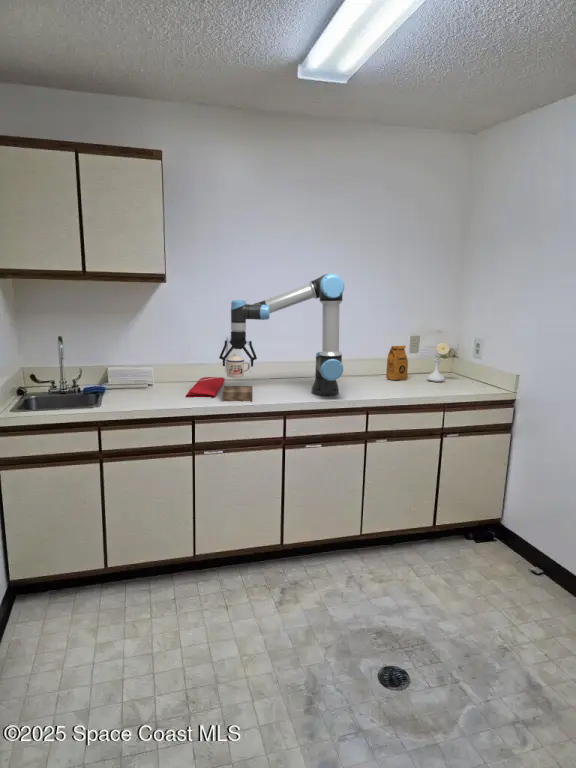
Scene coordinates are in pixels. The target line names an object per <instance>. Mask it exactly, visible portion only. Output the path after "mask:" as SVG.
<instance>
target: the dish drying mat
mask: <svg viewBox="0 0 576 768" xmlns="http://www.w3.org/2000/svg"><path fill="white" fill-rule="evenodd" d="M225 380H226V379H225V377H218V376H205V377H201V378H199V379H198V381H197V382H196V383H195V384H194V385H193V387H191V389H190V390H188V392H187V393H186V394H185V398H194V397H211V398H210V399H215V398H216V396H217V394H219V392H220V390H221V388H222V387H223V385H224V383H225Z"/></svg>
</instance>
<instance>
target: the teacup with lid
mask: <svg viewBox="0 0 576 768" xmlns="http://www.w3.org/2000/svg"><path fill="white" fill-rule="evenodd" d="M226 360H227V373H226V377H228V378H233V379H237V378H238V379H239V378H243V377H244V375H245V373H246V372H247V371H249V368H250V362H246V361H245V358H243V357H241V356H239V355H238V353H233V355H232V356H229V357H227V358H226ZM245 364H246V365H247V368H246V369H245ZM244 372H245V373H244Z"/></svg>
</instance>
